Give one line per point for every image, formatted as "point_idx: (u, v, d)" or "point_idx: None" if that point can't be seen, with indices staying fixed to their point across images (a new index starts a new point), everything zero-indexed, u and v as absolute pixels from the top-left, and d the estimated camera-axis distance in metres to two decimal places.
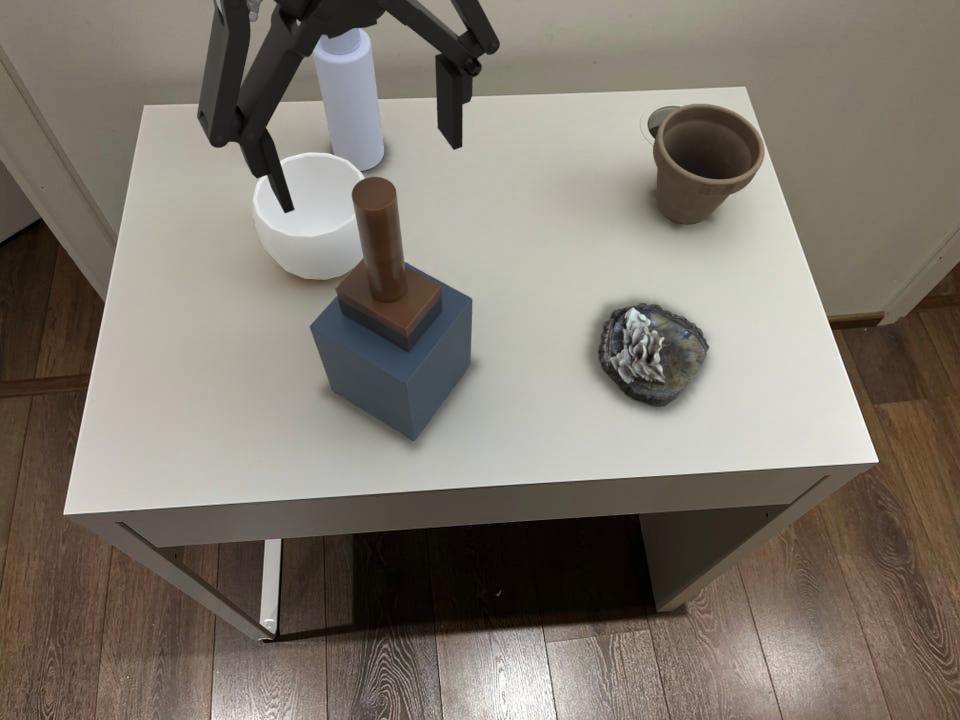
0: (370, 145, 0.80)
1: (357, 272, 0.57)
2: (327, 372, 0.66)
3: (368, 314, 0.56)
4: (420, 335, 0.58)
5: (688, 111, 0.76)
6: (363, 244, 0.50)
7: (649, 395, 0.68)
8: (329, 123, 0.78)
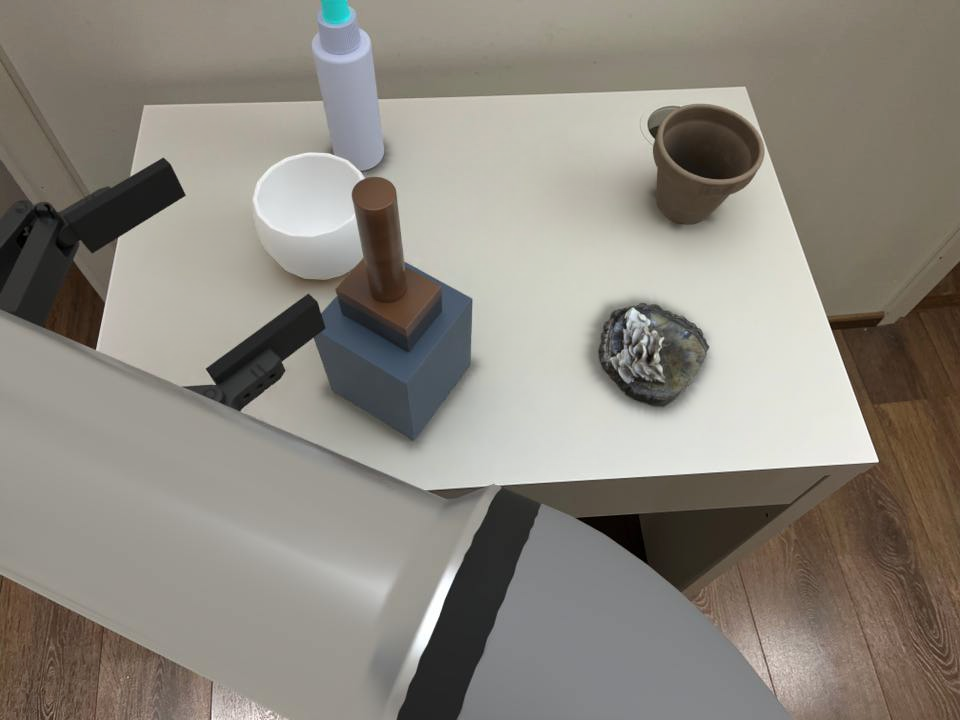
0: (370, 145, 0.80)
1: (357, 272, 0.57)
2: (327, 372, 0.66)
3: (368, 314, 0.56)
4: (420, 335, 0.58)
5: (688, 111, 0.76)
6: (363, 244, 0.50)
7: (649, 395, 0.68)
8: (329, 123, 0.78)
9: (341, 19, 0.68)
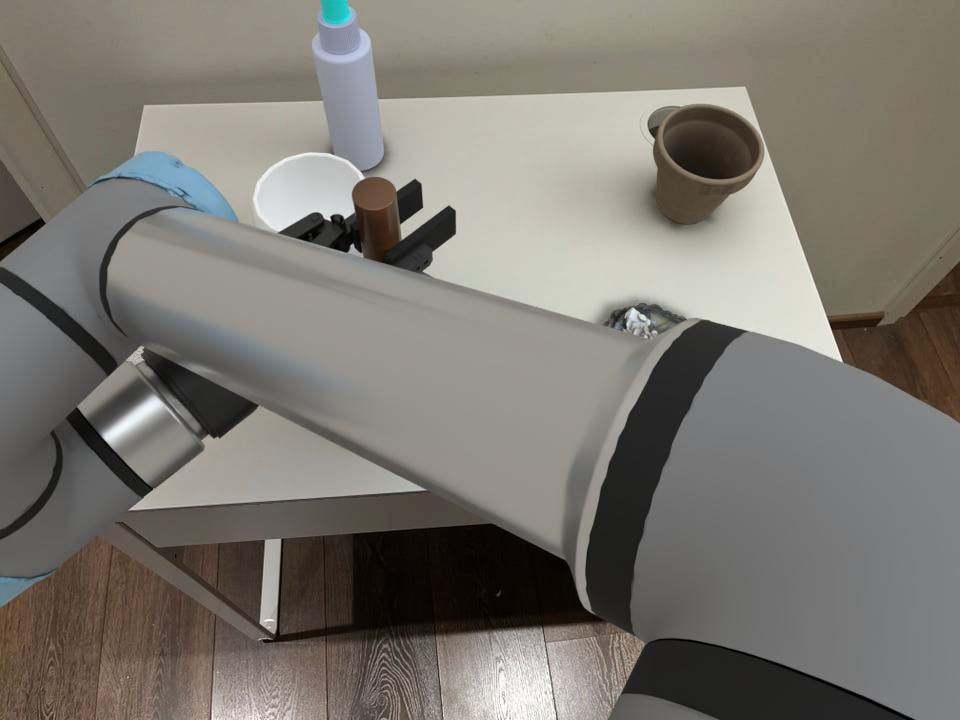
0: (370, 145, 0.80)
1: None
2: None
3: None
4: None
5: (688, 111, 0.76)
6: (363, 244, 0.50)
7: None
8: (329, 123, 0.78)
9: (341, 19, 0.68)
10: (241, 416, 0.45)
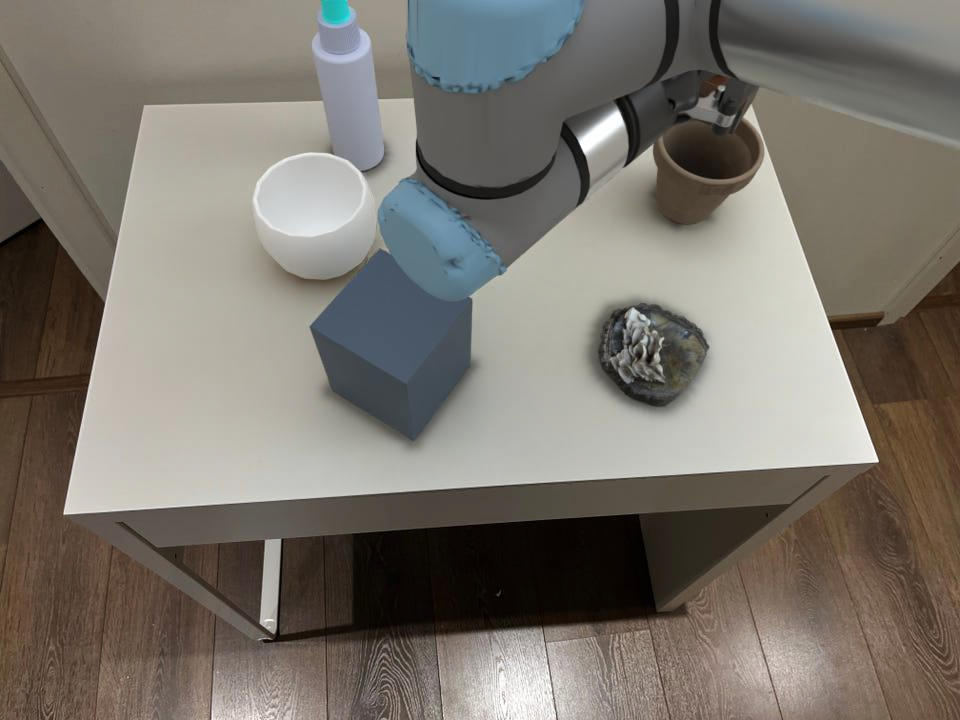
0: (370, 145, 0.80)
1: None
2: (327, 372, 0.66)
3: None
4: (741, 118, 0.58)
5: None
6: None
7: (649, 395, 0.68)
8: (329, 123, 0.78)
9: (341, 19, 0.68)
10: (654, 139, 0.45)
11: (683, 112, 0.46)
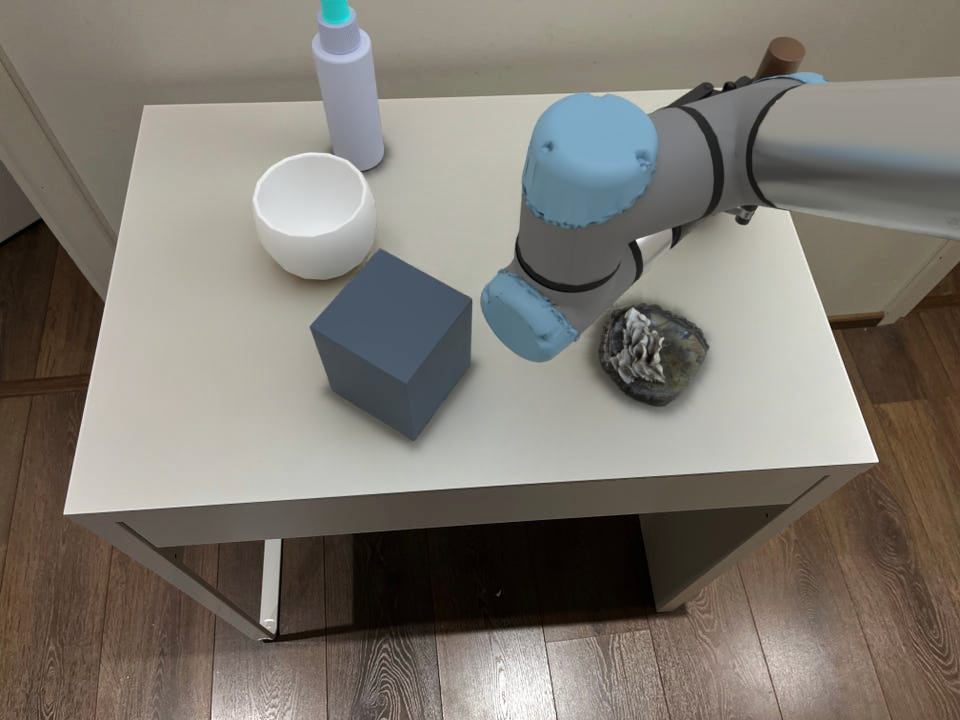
0: (370, 145, 0.80)
1: None
2: (327, 372, 0.66)
3: None
4: None
5: None
6: None
7: (649, 395, 0.68)
8: (329, 123, 0.78)
9: (341, 19, 0.68)
10: (690, 230, 0.57)
11: None
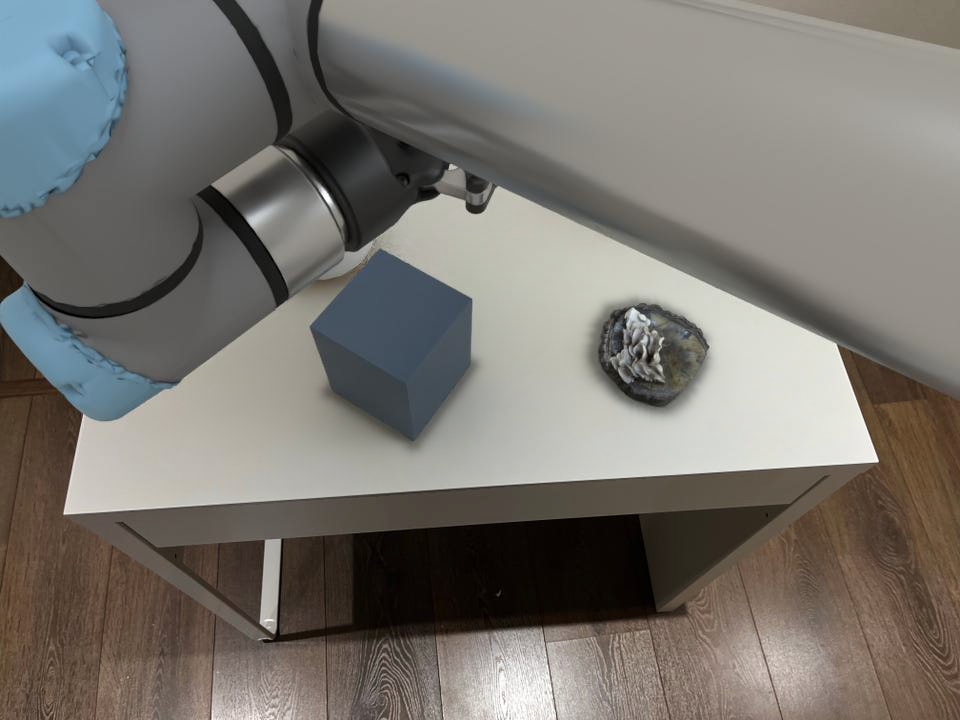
0: None
1: None
2: (327, 372, 0.66)
3: None
4: None
5: None
6: None
7: (649, 395, 0.68)
8: None
9: None
10: (387, 220, 0.38)
11: (428, 187, 0.39)
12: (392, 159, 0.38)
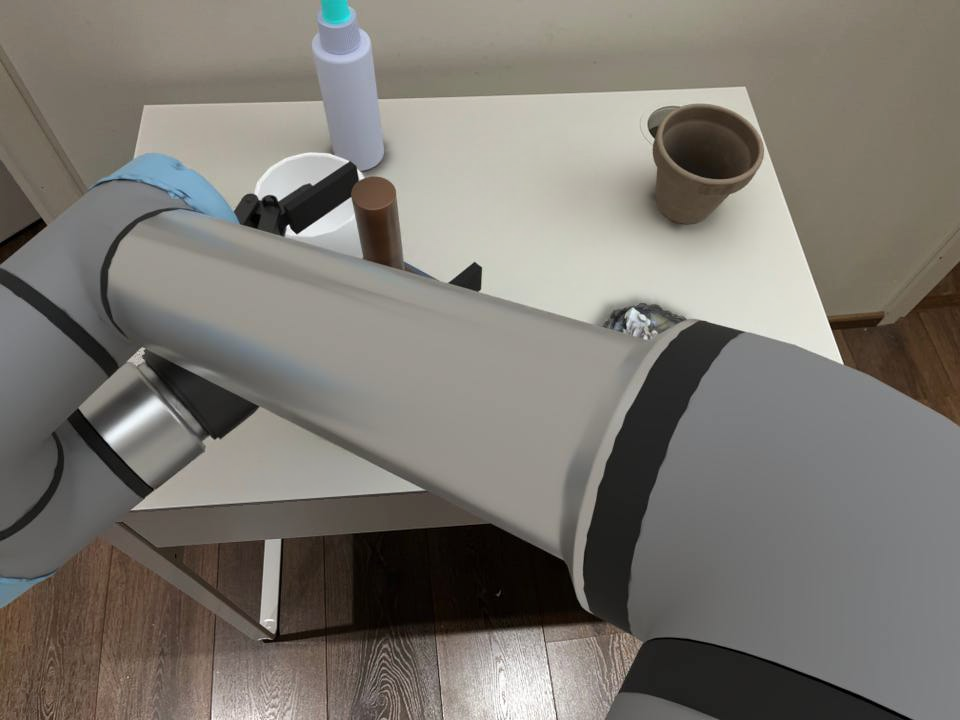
0: (370, 145, 0.80)
1: None
2: None
3: None
4: None
5: (688, 111, 0.76)
6: (362, 243, 0.50)
7: None
8: (329, 123, 0.78)
9: (341, 19, 0.68)
10: (241, 417, 0.45)
11: None
12: None
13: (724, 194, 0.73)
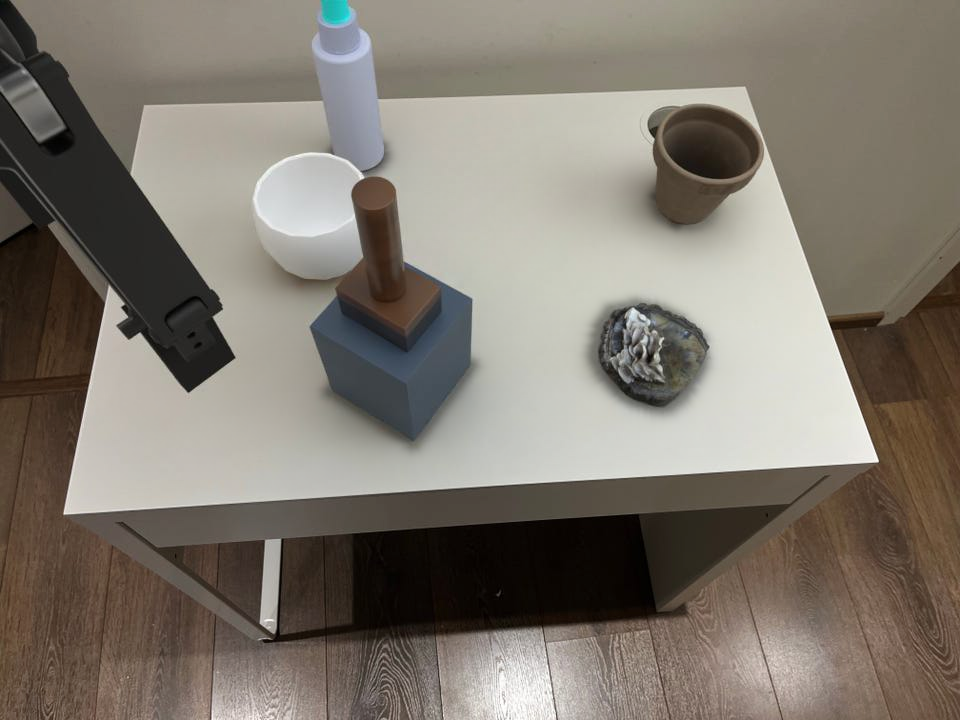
0: (370, 145, 0.80)
1: (357, 271, 0.57)
2: (327, 372, 0.66)
3: (367, 313, 0.56)
4: (419, 335, 0.58)
5: (688, 111, 0.76)
6: (362, 243, 0.50)
7: (649, 395, 0.68)
8: (329, 123, 0.78)
9: (341, 19, 0.68)
10: None
11: None
12: None
13: (724, 194, 0.73)
